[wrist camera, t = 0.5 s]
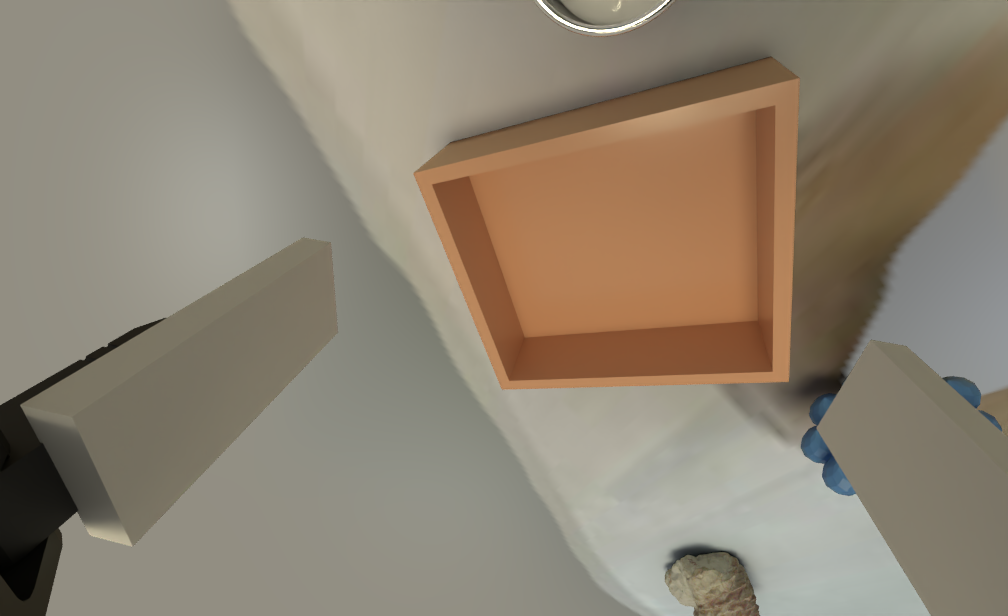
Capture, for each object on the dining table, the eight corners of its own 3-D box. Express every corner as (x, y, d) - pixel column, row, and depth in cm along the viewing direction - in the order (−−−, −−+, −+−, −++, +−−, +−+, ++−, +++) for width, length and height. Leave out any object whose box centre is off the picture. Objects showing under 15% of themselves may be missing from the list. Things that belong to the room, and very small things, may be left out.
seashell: (655, 555, 57) (707, 645, 49) (720, 521, 57) (782, 605, 50) (664, 588, 66) (709, 668, 59) (720, 558, 67) (772, 635, 59)
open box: (771, 56, 27) (799, 77, 22) (769, 321, 37) (788, 381, 32) (450, 142, 35) (413, 173, 30) (520, 339, 46) (501, 389, 40)
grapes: (799, 421, 42) (838, 547, 33) (774, 371, 40) (810, 492, 31) (962, 391, 36) (1066, 536, 27) (945, 330, 34) (1054, 466, 25)
